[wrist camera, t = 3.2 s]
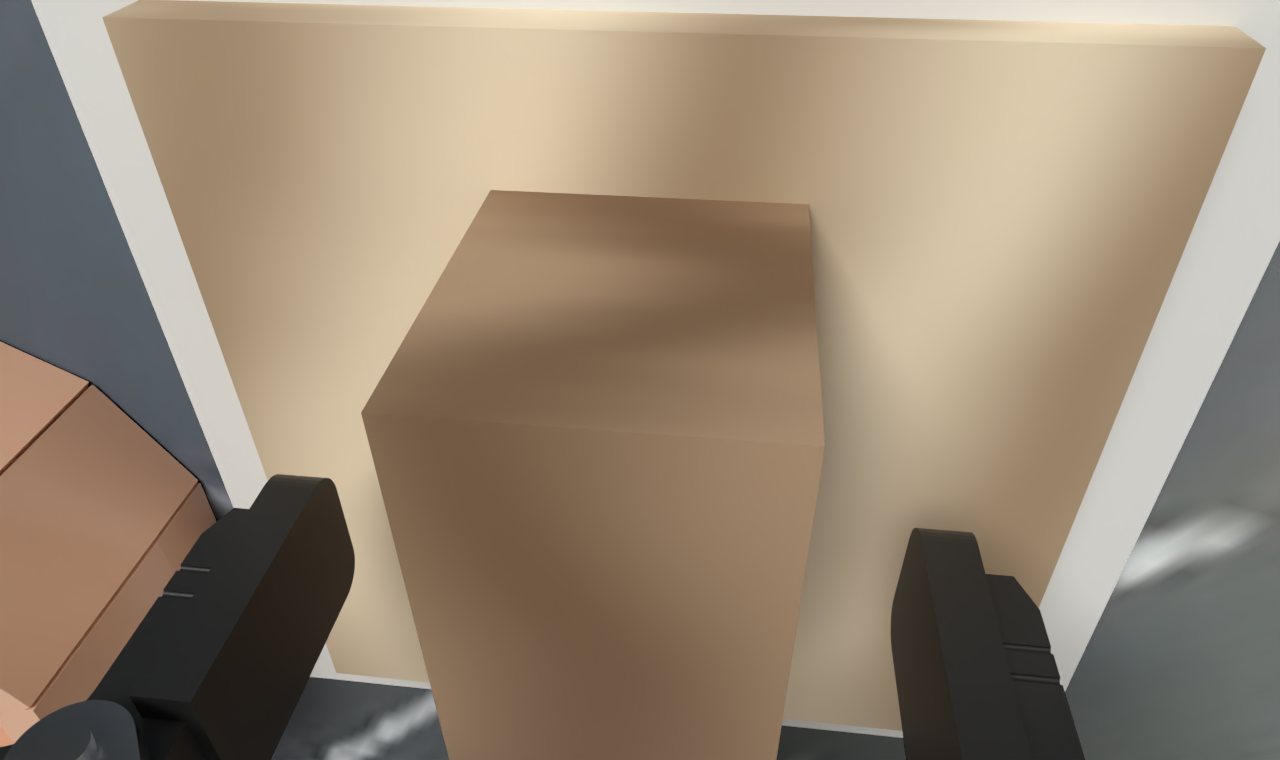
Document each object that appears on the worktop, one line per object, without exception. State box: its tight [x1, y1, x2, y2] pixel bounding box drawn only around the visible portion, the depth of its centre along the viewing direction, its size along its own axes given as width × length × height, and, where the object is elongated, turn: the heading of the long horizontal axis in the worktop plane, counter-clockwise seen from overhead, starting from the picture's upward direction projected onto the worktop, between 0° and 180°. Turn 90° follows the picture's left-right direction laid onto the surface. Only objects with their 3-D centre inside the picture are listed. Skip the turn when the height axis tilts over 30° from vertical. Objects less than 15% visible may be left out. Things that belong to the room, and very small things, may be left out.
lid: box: [102, 0, 1266, 760], centre depth 12 cm, size 13×13×5 cm
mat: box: [31, 0, 1280, 738], centre depth 15 cm, size 16×16×1 cm
